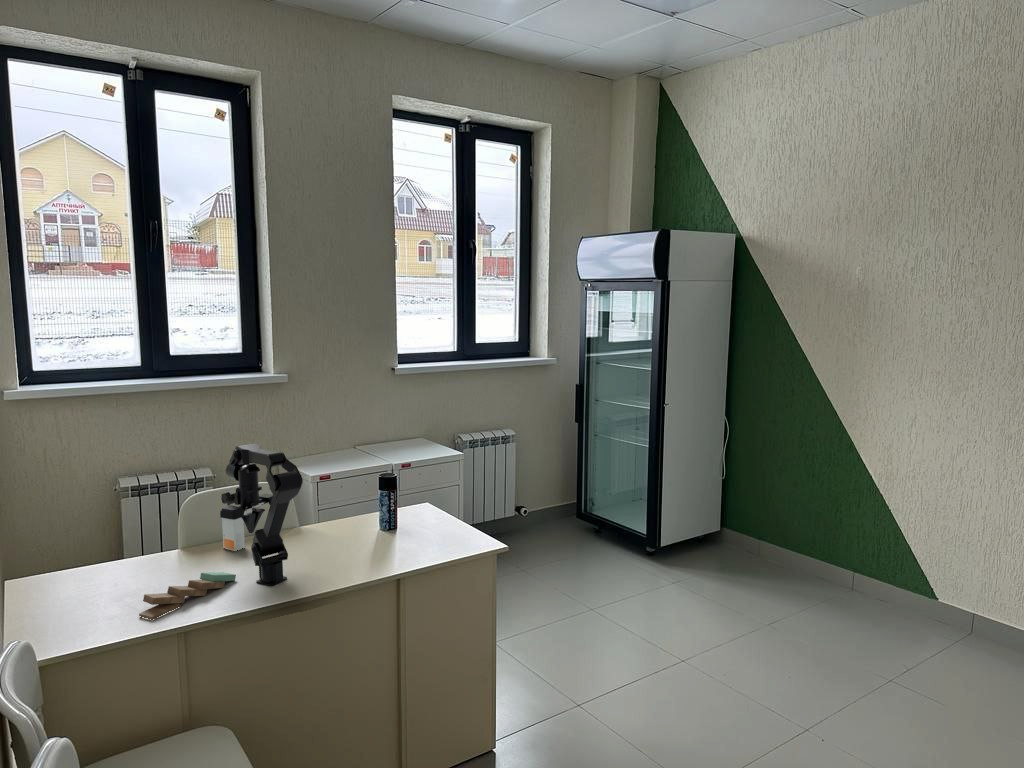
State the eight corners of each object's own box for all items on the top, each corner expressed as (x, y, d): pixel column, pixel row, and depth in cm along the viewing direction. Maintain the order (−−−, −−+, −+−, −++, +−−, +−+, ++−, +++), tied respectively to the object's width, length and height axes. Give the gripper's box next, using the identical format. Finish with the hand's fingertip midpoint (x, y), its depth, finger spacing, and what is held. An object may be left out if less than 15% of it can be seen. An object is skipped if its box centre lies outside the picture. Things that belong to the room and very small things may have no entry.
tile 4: (176, 592, 200) (144, 594, 193) (185, 595, 197) (153, 597, 190) (174, 599, 199) (143, 601, 192) (184, 602, 196) (152, 604, 189)
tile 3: (196, 585, 205) (168, 586, 198) (207, 589, 203) (180, 589, 195) (194, 592, 205) (167, 592, 197) (205, 595, 202) (178, 596, 195)
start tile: (223, 572, 215) (201, 572, 207) (236, 574, 213) (214, 575, 205) (222, 578, 215) (199, 578, 207) (234, 580, 213) (212, 581, 205)
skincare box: (222, 548, 240) (220, 514, 239) (233, 544, 244) (231, 511, 242) (235, 551, 237) (233, 517, 236) (245, 547, 241) (243, 513, 239)
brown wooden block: (167, 600, 197) (139, 613, 189) (180, 603, 195) (151, 616, 187) (168, 606, 197) (139, 619, 189) (180, 609, 195) (152, 623, 187)
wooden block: (212, 579, 210) (188, 580, 202) (225, 581, 208) (202, 582, 200) (211, 585, 210) (187, 586, 202) (224, 587, 208) (200, 589, 200)
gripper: (251, 474, 230) (254, 520, 232) (205, 488, 213) (208, 538, 215) (278, 478, 226) (280, 525, 227) (232, 493, 209) (235, 543, 211)
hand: (251, 532), depth 220 cm, fingers closed
